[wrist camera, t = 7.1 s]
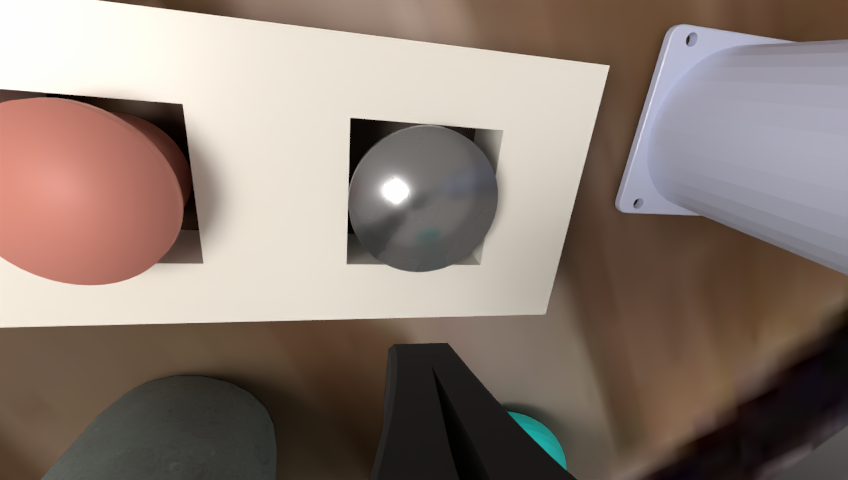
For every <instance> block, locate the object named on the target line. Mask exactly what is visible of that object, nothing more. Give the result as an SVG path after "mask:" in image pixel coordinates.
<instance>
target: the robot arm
mask: <svg viewBox="0 0 848 480" xmlns="http://www.w3.org/2000/svg"><path fill="white" fill-rule="evenodd" d="M688 35H689V36H690V41H689V43H688V45H687V44H686V38H687V36H688ZM637 199H638V201H637V203H636V204H635V205H634V206H633V204H634V202H635V200H637ZM615 206H616V208H617V209H618V210H619V211H621V212H624V213H643V214H669V215H696V216H704V217H706V218H709V219H711V220H714V221H716V222H719V223H721V224H724V225H726V226H728V227H731V228H733V229H736V230H738V231H741V232H743V233H745V234H748V235H750V236H753V237H755V238H758V239H760V240H762V241H765V242H767V243H770V244H772V245H775V246H777V247H779V248H782V249H784V250H787V251H789V252H792V253H794V254H796V255H799V256H801V257H804V258H806V259H809V260H811V261H813V262H816V263H818V264H821V265H823V266H826V267H828V268H830V269H833V270H835V271H838V272H840V273H843V274H845V275H848V40H830V41H813V42H793V41H787V40H780V39H774V38H768V37H762V36H755V35H749V34H743V33H737V32H731V31H724V30H718V29H712V28H706V27H699V26H693V25H687V24H682V25H675V26H673V27H671V28H670V29H669V30H668V31H667V33H666V35H665V37H664V41H663V44H662V47H661V51H660V54H659V57H658V61H657V64H656V67H655V71H654V74H653V77H652V81H651V84H650V87H649V91H648V94H647V97H646V101H645V104H644V107H643V111H642V114H641V117H640V121H639V124H638V127H637V130H636V134H635V137H634V140H633V144H632V147H631V150H630V154H629V157H628V160H627V164H626V167H625V170H624V174H623V177H622V180H621V184H620V187H619V190H618V194H617V197H616V200H615ZM383 421H384V424H383V429H382V433H381V437H380V441H379V445H378V449H377V453H376V457H375V461H374V464H373V468H372V472H371V475H370V478H369V480H577V479H576V478H575V477H573V476H572V475H571V474H570V473H569V472H568V471H567V470H565V469H564V468H563V467H562V466H561V465H560V464H559V463H558V462H557V461H556V460H555V459H553V458H552V457H551V456H550V455H549V454H548V453H547V452H546V451H545V450H544V449H543V448H542V447H541V446H540V445H539V444H538V443H537V442H536V441H535V440H534V439H533V438H532V437H531V436H530V435H529V434H528V433H527V432H526V431H525V430H524V429H523V428H522V427H521V426H520V425H519V424H518V423H517V422H516V421H515V420H514V419H513V417H512V416H511V415H510V414H509V413H508V412H507V411H506V410H505V409H504V408H503V407H502V406H501V404H500V403H499V402H498V401H497V400H496V399H495V398H494V397H493V396H492V395H491V393H490V392H489V391H488V390H487V389H486V388H485V387H484V385H483V384H482V383H481V382H480V381H479V380H478V378H477V377H476V376H475V375H474V374H473V373H472V371H471V370H470V369H469V368H468V367H467V366H466V364H465V363H464V362H463V361H462V360H461V358H460V357H459V356H458V355H457V354H456V352H455V351H454V350H453V349H452V348H451V347H450V345H449V344H448V343H429V344H394V345H393V346H392V347H390V348H389V350H388V361H387V373H386V384H385V395H384V406H383Z"/></svg>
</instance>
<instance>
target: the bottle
mask: <svg viewBox="0 0 848 480" xmlns="http://www.w3.org/2000/svg"><path fill="white" fill-rule="evenodd" d="M276 464H277V445H276V439H275V432H274V425H273V423H272V421H271V419H270V416H269V414H268V412H267V409H266V408H265V407H264V406H263V405H262V404H261V403H260V402H259V401H258V400H257V399H256V398H255V397H254V396H253V395H252V394H251V393H249V392H247V391H245V390H243V389H241V388H239V387H237V386H236V385H234V384H232V383H230V382H226V381H222V380H217V379H213V378H209V377H205V376H172V377H168V378H163V379H159V380H155V381H151V382H146V383H145V384H143V385H141V386H139V387H137V388H135V389H134V390H132V391H130V392H128V393H126V394H125V395H123V396H122V397H121V398H119V399H118V400H117V401H116V402H114V403H113V404H112V405H111V406H109V407H108V408H107V409H106V410H104V411H103V412H102V413H101V414H99V415H98V416H97V418H96V419H95V420H94V421H93V422H92V423H91V424H90V425H89V426H88V427H87V429H86V430H85V431H84V432H83V433H82V434H81V435H80V436H79V437H78V439H77V440H76V441H75V442H74V443H73V444H72V445H71V446H70V447H69V449H68V450H67V451H66V452H65V453H64V454H63V455H62V456H61V457H60V458H59V460H58V461H57V462H56V463H55V464H54V465H53V466H52V467H51V469H50V470H49V471H48V472H47V473H46V474H45V475H44V476H43V477H42V479H41V480H276Z"/></svg>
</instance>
